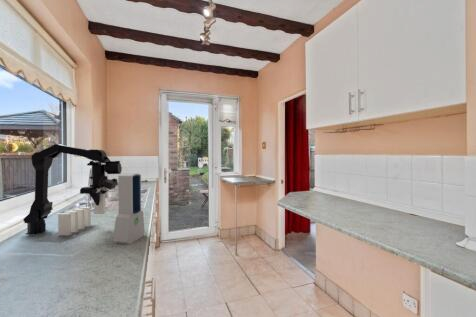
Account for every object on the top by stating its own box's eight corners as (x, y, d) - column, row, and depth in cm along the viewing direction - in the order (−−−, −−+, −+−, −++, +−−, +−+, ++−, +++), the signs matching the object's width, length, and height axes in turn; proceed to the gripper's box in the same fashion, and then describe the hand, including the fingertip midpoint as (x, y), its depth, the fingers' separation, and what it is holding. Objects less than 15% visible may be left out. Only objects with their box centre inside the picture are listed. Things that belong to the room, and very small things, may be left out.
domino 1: (58, 235, 110) (58, 214, 110) (61, 233, 112) (61, 213, 112) (68, 235, 110) (68, 214, 110) (71, 234, 112) (70, 213, 111)
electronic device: (127, 245, 100) (127, 174, 99) (112, 243, 101) (111, 174, 101) (145, 235, 112) (144, 172, 111) (131, 234, 113) (130, 172, 113)
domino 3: (73, 229, 119) (72, 209, 119) (75, 228, 121) (75, 208, 121) (82, 229, 119) (82, 209, 119) (84, 228, 120) (84, 209, 120)
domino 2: (66, 232, 115) (65, 211, 115) (68, 230, 116) (68, 210, 116) (75, 232, 114) (75, 211, 114) (78, 231, 116) (77, 211, 116)
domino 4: (79, 226, 124) (79, 207, 123) (81, 225, 125) (81, 206, 125) (88, 226, 123) (88, 207, 123) (90, 225, 125) (90, 207, 125)
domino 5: (94, 213, 119) (93, 194, 119) (96, 213, 120) (95, 193, 120) (103, 214, 118) (103, 194, 118) (105, 213, 120) (105, 193, 120)
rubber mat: (36, 242, 103) (36, 241, 103) (77, 225, 127) (77, 224, 127) (61, 243, 102) (61, 241, 102) (98, 226, 126) (98, 225, 126)
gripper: (101, 176, 109) (101, 209, 109) (124, 172, 128) (124, 201, 128) (78, 176, 110) (79, 209, 110) (104, 172, 128) (105, 201, 129)
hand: (98, 204), depth 119 cm, fingers closed on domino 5, 2 cm apart
